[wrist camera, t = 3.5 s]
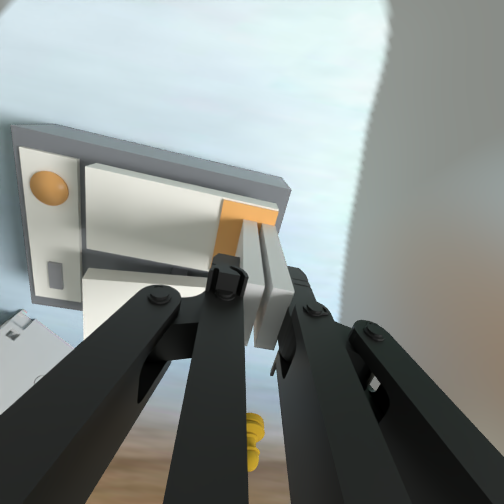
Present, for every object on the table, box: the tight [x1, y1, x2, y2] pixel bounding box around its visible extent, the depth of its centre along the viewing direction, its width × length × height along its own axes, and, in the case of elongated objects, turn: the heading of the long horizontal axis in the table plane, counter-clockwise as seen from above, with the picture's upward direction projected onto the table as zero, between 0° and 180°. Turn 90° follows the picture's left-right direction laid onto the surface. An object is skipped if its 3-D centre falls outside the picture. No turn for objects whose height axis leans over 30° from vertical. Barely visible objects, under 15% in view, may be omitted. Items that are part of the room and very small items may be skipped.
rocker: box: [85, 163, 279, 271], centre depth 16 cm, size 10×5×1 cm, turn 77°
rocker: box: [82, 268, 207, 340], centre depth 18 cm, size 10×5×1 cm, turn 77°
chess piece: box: [246, 413, 265, 472], centre depth 31 cm, size 4×4×5 cm
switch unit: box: [11, 124, 291, 311], centre depth 20 cm, size 16×12×5 cm
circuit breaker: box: [0, 309, 75, 415], centre depth 21 cm, size 8×14×15 cm, turn 33°
